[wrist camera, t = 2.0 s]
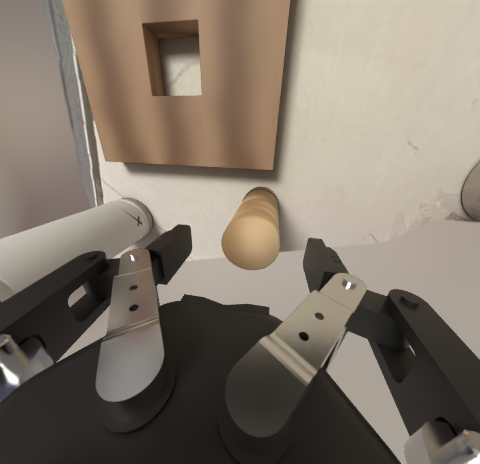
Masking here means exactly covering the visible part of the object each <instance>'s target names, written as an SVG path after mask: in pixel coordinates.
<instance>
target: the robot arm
mask: <svg viewBox="0 0 480 464" xmlns="http://www.w3.org/2000/svg"><path fill="white" fill-rule="evenodd" d="M462 202H463V206H464V208H465V210H466V212H467V213H468V214H469V215H470V216H471V217H472V218H474V219H476V220H478V221H480V162H479V163H478V164H477V165H476V166H475V167H474V169H473V170H472V172H471V173H470V175H469V176H468V178H467V180H466V182H465V185H464V187H463V192H462ZM191 251H192V238H191V228H190V226H189V225H180V224H178V225H177V226H176V227H174V228H173V229H172V230H170V231H167V232H165V233H163V234H162V235H161V236H159V238H157V239H156V240H155V241H153V242H152V243H151V244H149V245H148V246H147V247H146V248H144V249H133V250H130V251H127V252H125V253H124V254H122V255H121V257H120V258H117V259H107V256H106V253H105V252H103V251H91V252H87V253H84V254H81V255H79V256H77V257H76V258H74V259H72V260H71V261H69V262H68V263H66V264H64V265H63V266H61V267H59V268H58V269H56V270H54V271H53V272H51V273H49V274H48V275H46V276H44V277H43V278H41V279H40V280H38V281H36V282H35V283H33V284H31V285H30V286H28V287H26V288H25V289H23V290H21V291H20V292H18V293H16V294H15V295H13V296H12V297H10V298H8V299H7V300H5V301H3V302H2V303H0V464H401V463H400V462H399V460H398V459H397V457H396V456H395V455H394V454H393V452H392V451H391V450H390V448H389V447H388V446H387V445H386V444H385V442H384V441H383V440H382V439H381V437H380V436H379V435H378V434H377V433H376V431H375V430H374V429H373V428H372V426H371V425H370V424H369V423H368V422H367V420H366V419H365V418H364V417H363V416H362V415H361V413H360V412H359V411H358V409H357V408H356V407H355V406H354V405H353V403H352V402H351V401H350V400H349V398H348V397H347V396H346V395H345V394H344V392H343V391H342V390H341V389H340V387H339V386H338V385H337V384H336V383H335V381H333V379H332V378H331V377H330V375H329V374H328V373H327V371H328V369H329V367H330V365H331V362H332V361H333V359H334V357H335V355H336V353H337V351H338V349H339V348H340V346H341V344H342V342H343V340H344V338H345V336H346V335H347V333H348V331H350V332H352V333H355V334H357V335H359V336H362V337H364V338H367V339H368V341H369V343H370V346H371V348H372V350H373V352H374V355H375V357H376V359H377V362H378V364H379V366H380V369H381V371H382V373H383V375H384V378H385V380H386V383H387V385H388V387H389V389H390V392H391V394H392V396H393V399H394V401H395V403H396V406H397V408H398V410H399V412H400V415H401V417H402V419H403V422H404V424H405V426H406V428H407V431H408V433H409V435H410V438H409V439H408V440H407V441H406V443H405V457H406V460H407V464H480V360H479V359H478V357H477V356H476V355H475V354H474V353H473V352H472V351H471V350H470V349H469V348H468V347H467V345H466V344H465V343H464V342H463V341H462V340H461V339H460V338H459V337H458V336H457V335H456V334H455V332H454V331H453V330H452V329H451V328H450V327H449V326H448V325H447V324H446V323H445V322H444V320H443V319H442V318H441V317H440V316H439V315H438V314H437V313H436V312H435V311H434V310H433V308H432V307H431V306H430V305H429V304H428V303H427V302H425V301H424V300H423V299H421V298H420V297H418V296H416V295H414V294H412V293H410V292H407V291H404V290H398V289H394V290H391V291H390V292H389V294H388V296H384V295H381V294H378V293H374V292H372V291H369V290H367V287H366V284H365V283H364V282H363V281H362V280H360V279H359V278H357V277H355V276H353V275H350V274H349V273H348V271H347V269H346V268H345V266H344V265H343V263H342V262H341V260H340V258H339V256H338V255H337V253H336V252H335V251H334V250H332V249H331V248H330V247H326V246H325V244H324V242H323V240H322V239H316V238H309V239H308V242H307V246H306V250H305V255H304V260H303V268H304V272H305V275H306V279H307V283H308V287H309V290H310V295H309V296H308V297H307V298H306V299H305V300H304V301H303V302H302V303H301V304H300V305H299V306H298V307H297V308H296V309H295V310H294V311H293V312H292V313H291V314H290V315H289V316H288V317H287V318H286V319H285V320H284V321H281V320H279V319H278V318H276V317H274V316H272V315H269V307H265V306H258V305H251V304H237V305H222V304H220V303H217V302H215V301H212V300H210V299H207V298H204V297H198V296H192V295H185V294H184V296H183V298H182V299H181V301H175V302H170V303H167V304H164V305H161V306H160V303H159V298H158V293H157V287H156V286H157V285H158V284H165V285H167V284H168V282H169V281H170V280H171V278H172V277H173V276H174V274H175V273H176V272H177V271H178V269H179V268H180V267H181V265H182V264H183V263H184V261H185V260H186V259H187V257H188V256H189V255H190V253H191ZM81 285H83V287H84V289H85V291H86V294H85V295H84V296H83V297H82V298H80V299H79V300H78V301H77V302H76V303H75V304H73V305H72V306H71V307H69V305H68V298H69V296H70V295H71V294H72V293H73V292H74V291H75V290H76V289H78V288H79V287H80V286H81ZM108 306H110V311H109V319H108V326H107V333H106V336H104V337H102V338H101V339H99V340H97V341H95V342H94V343H91V344H90V345H88V346H86V347H84V348H82V349H81V350H79V351H77V352H75V353H74V354H72V355H70V356H68V357H67V358H64V359H63V360H61V361H59V362H57V361H58V360H59V359H60V358H61V357H62V355H63V354H64V353H65V352H66V351H67V350H68V349H69V348H70V347H71V346H72V345H73V344H74V343H75V342H76V341H77V340H78V338H79V337H80V336H81V335H82V334H83V333H84V332H85V331H86V330H87V329H88V328H89V327H90V326H91V325H92V324H93V323H94V321H95V320H96V319H97V318H98V317H99V316H100V315H101V314H102V313H103V312H104V311H105V310H106V309H107V307H108ZM409 345H411V347H412V349H413V350H414V353H415V355H414V353H413V352H412V350H411V349H410V347H409ZM415 356H416V357H415ZM56 362H57V363H56Z"/></svg>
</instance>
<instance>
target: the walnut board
mask: <svg viewBox="0 0 480 464" xmlns="http://www.w3.org/2000/svg"><path fill="white" fill-rule="evenodd" d="M62 1H63V5H64V8H65V12H66V16H67V19H68V23H69V27H70V31H71V34H72V38H73V42H74V46H75V49H76V53H77V57H78V60H79V64H80V68H81V72H82V75H83V79H84V83H85V86H86V90H87V94H88V98H89V101H90V105H91V109H92V113H93V116H94V120H95V124H96V127H97V131H98V135H99V139H100V142H101V146H102V150H103V153H104V157H105V161H109V162H128V163H148V164H167V165H186V166H205V167H224V168H243V169H262V170H273V163H274V153H275V144H276V134H277V124H278V115H279V105H280V95H281V86H282V76H283V66H284V57H285V47H286V37H287V27H288V18H289V8H290V0H62ZM195 36H199V48H200V68H201V89H202V96H165V92H164V83H163V75H162V67H161V58H160V50H159V42H158V39H160V38H177V37H195Z"/></svg>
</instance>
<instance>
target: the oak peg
mask: <svg viewBox="0 0 480 464" xmlns="http://www.w3.org/2000/svg"><path fill="white" fill-rule="evenodd" d="M278 210H279V203H278V200H277V197H276V195H275V193H274V192H273V191H272V190H270V189H269V188H266V187H256V188H254V189H252V190H250V191H249V192H248V193H247V194H246V196H245V197H244V199H243V201H242V203H241V205H240V207H239V208H238V210H237V212H236V213H235V215H234V217H233V218H232V220H231V221H230V223H229V225H228V226H227V228H226V230H225V232H224V233H223V236H222V249H223V252H224V254H225V256H226V257H227V258H228V260H229V261H231V262H232V263H233V264H234V265H236V266H238V267H240V268H243V269H246V270H259V269H263V268H265V267H267V266H269V265H270V264H272V263H273V262H274V260H275V259H276V258H277V256H278V253H279V249H280V241H279V218H278Z"/></svg>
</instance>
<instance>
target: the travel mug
mask: <svg viewBox="0 0 480 464" xmlns="http://www.w3.org/2000/svg"><path fill="white" fill-rule="evenodd" d="M151 229H152V217H151V214H150V212H149V211H148V209H147V208H146V207H145V206H144V205H143V204H142V203H141V202H139V201H137V200H135V199H133V198H122V199H119V200H116V201H113V202H110V203H107V204H104V205H101V206H98V207H95V208H92V209H89V210H86V211H83V212H80V213H77V214H74V215H71V216H68V217H65V218H62V219H59V220H56V221H53V222H50V223H47V224H44V225H41V226H38V227H35V228H33V229H29V230H26V231H23V232H21V233H17V234H14V235H11V236H8V237H5V238H3V239H0V303H2V302H3V301H5V300H7V299H8V298H10V297H12V296H13V295H15V294H16V293H18V292H20V291H21V290H23V289H25V288H26V287H28V286H30V285H31V284H33V283H35V282H36V281H38V280H40V279H41V278H43V277H44V276H46V275H48V274H49V273H51V272H53V271H54V270H56V269H58V268H59V267H61V266H63V265H64V264H66V263H68V262H69V261H71V260H72V259H74V258H76V257H77V256H79V255H81V254H84V253H87V252H91V251H103V252H105V253H106V256H107V259H112V258H113V257H115V256H116V255H118V254H119V253H121V252H122V251H123V250H125V249H126V248H128V247H129V246H131V245H132V244H134V243H135V242H137V241H138V240H140V239H141V238H143V237H144V236H146V235H147V234H148V233H149V232H150V231H151Z"/></svg>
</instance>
